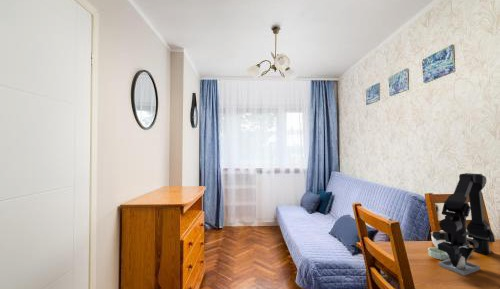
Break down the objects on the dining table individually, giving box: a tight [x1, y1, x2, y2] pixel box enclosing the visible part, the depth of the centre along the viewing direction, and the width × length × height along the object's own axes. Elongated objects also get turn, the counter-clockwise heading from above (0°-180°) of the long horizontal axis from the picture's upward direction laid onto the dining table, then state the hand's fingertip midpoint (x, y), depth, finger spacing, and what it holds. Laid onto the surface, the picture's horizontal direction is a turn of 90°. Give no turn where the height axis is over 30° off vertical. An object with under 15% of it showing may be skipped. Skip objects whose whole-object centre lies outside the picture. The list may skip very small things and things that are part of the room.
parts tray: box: [438, 258, 481, 277], centre depth 99 cm, size 12×9×2 cm
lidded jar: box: [430, 230, 451, 248], centre depth 117 cm, size 11×11×9 cm
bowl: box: [427, 246, 450, 261], centre depth 109 cm, size 8×8×3 cm
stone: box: [453, 256, 465, 270], centre depth 99 cm, size 4×4×4 cm
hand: (458, 265), depth 99 cm, fingers open, 6 cm apart
